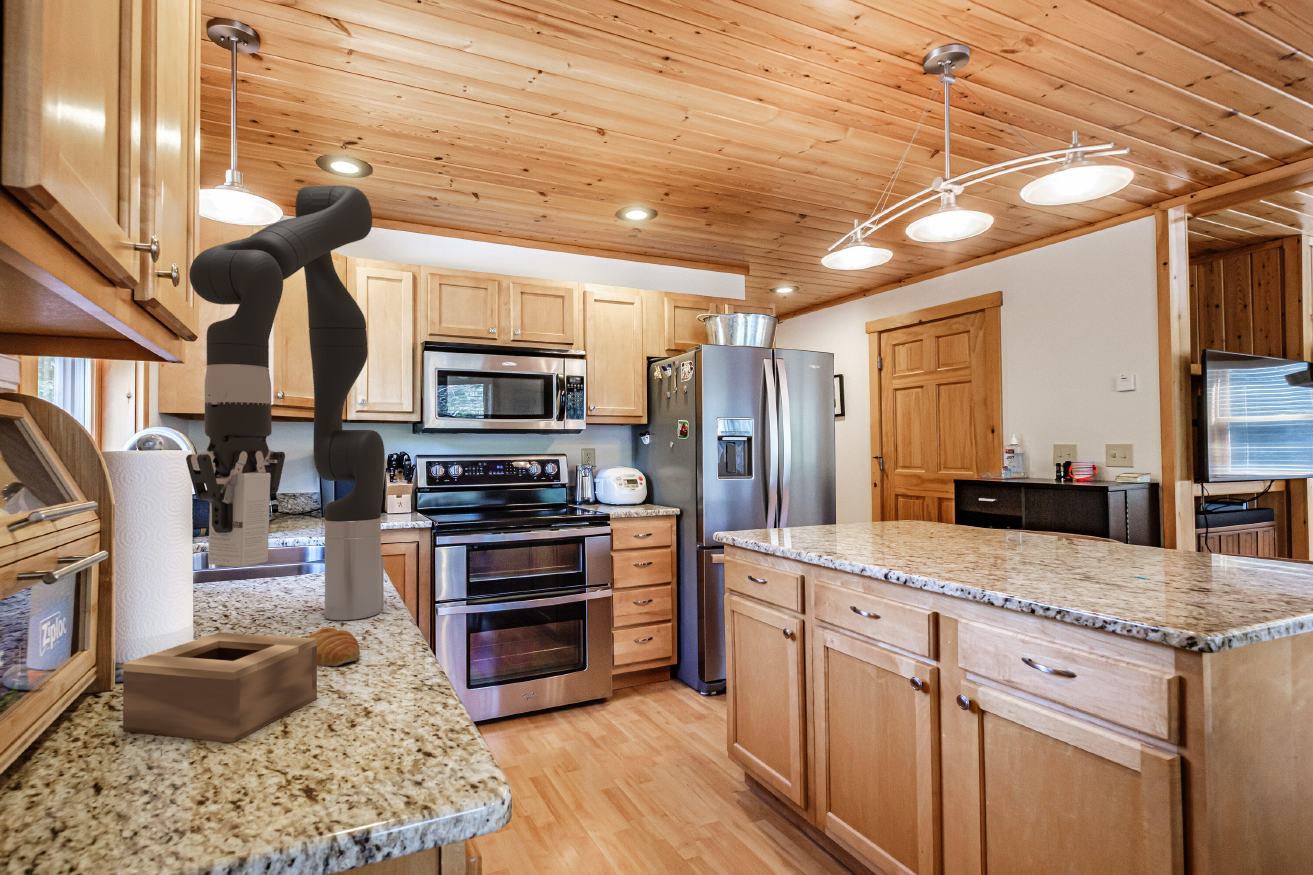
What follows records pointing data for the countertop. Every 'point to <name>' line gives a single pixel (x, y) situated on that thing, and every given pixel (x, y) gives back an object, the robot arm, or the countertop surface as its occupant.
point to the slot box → (219, 686)
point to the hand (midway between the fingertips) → (239, 528)
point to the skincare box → (244, 524)
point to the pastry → (335, 647)
